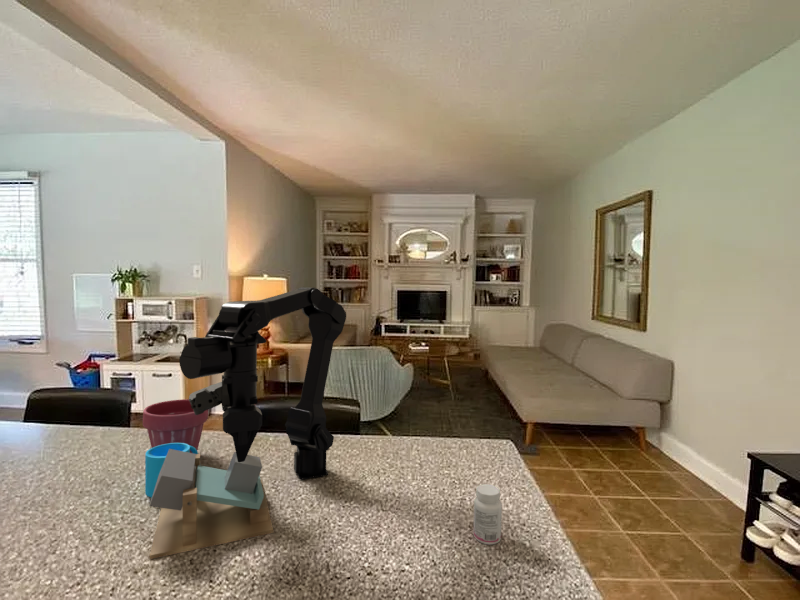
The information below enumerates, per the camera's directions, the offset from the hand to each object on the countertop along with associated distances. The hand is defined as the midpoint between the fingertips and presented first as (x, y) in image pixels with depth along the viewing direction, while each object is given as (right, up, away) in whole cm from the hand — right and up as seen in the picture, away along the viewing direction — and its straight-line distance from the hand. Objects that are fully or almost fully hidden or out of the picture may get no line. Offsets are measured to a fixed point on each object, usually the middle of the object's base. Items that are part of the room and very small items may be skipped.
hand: (239, 452), depth 78 cm
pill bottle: (+45, -13, -6) cm, 47 cm away
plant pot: (-25, -11, +24) cm, 37 cm away
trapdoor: (-5, -8, -2) cm, 9 cm away
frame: (-4, -12, -1) cm, 12 cm away
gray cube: (0, -6, 0) cm, 6 cm away
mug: (-18, -11, +11) cm, 24 cm away
